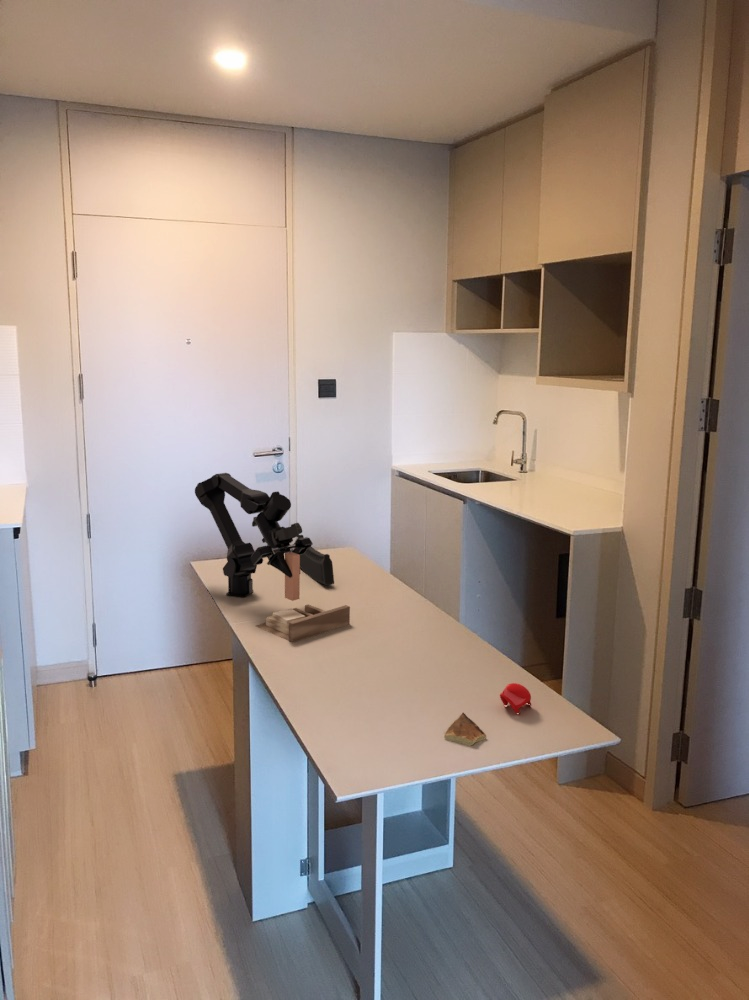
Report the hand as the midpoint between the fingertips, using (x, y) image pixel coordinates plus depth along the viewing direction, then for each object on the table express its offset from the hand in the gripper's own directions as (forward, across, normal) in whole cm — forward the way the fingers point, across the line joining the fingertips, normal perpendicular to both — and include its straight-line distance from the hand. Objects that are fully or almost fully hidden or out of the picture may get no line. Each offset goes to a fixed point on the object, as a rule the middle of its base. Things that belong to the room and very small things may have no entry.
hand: (295, 575), depth 224 cm
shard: (+62, -18, -44) cm, 78 cm away
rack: (+15, -4, +2) cm, 15 cm away
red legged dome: (+63, -1, -46) cm, 78 cm away
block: (+4, 0, +6) cm, 7 cm away
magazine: (-10, +30, +28) cm, 42 cm away
